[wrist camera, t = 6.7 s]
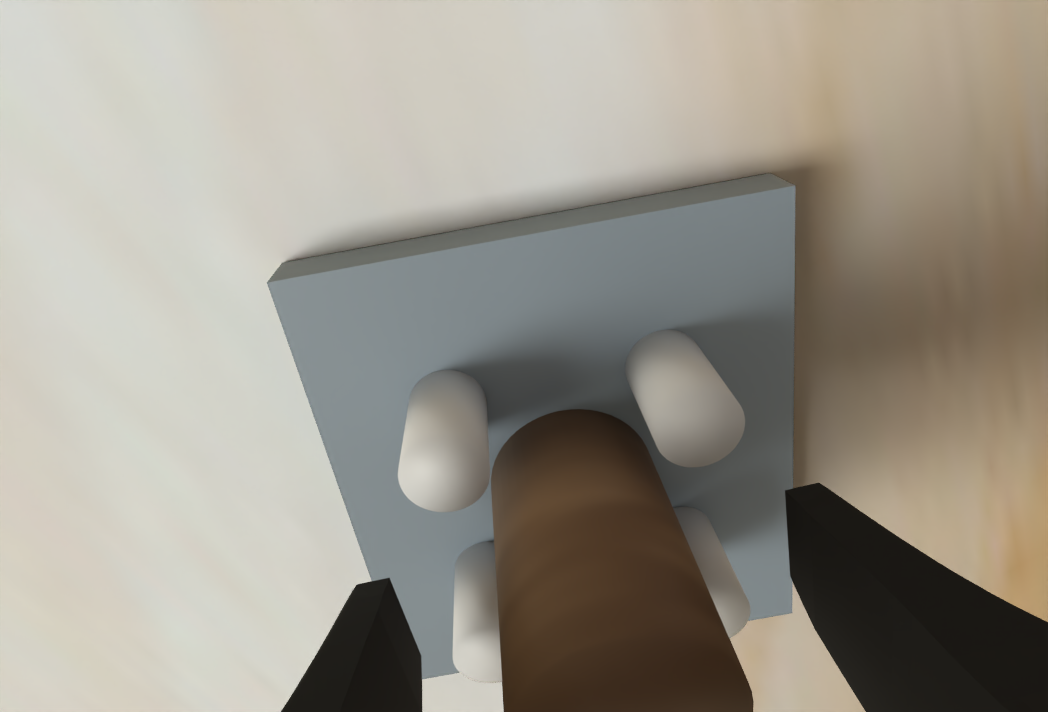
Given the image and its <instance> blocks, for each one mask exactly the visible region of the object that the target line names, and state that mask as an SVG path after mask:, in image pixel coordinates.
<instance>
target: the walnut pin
mask: <svg viewBox="0 0 1048 712" xmlns="http://www.w3.org/2000/svg"><path fill="white" fill-rule="evenodd" d="M491 495H492V512H493V530H494V547H495V565H496V582H497V600H498V617H499V635H500V652H501V670H502V687H503V705H504V712H753V697H752V691H751V689H750V686H749V683H748V681H747V678H746V676H745V674H744V671H743V669H742V667H741V664H740V662H739V660H738V658H737V655H736V653H735V651H734V648H733V646H732V644H731V641H730V639H729V637H728V634H727V632H726V630H725V627H724V625H723V623H722V620H721V618H720V616H719V613H718V611H717V609H716V607H715V604H714V602H713V600H712V597H711V595H710V593H709V590H708V588H707V586H706V583H705V581H704V579H703V576H702V574H701V572H700V569H699V567H698V565H697V563H696V560H695V558H694V556H693V553H692V551H691V549H690V546H689V544H688V542H687V539H686V537H685V535H684V532H683V530H682V528H681V525H680V523H679V521H678V518H677V516H676V514H675V512H674V509H673V507H672V505H671V502H670V500H669V498H668V495H667V493H666V491H665V488H664V486H663V484H662V481H661V479H660V477H659V474H658V472H657V470H656V467H655V465H654V463H653V461H652V458H651V456H650V454H649V451H648V449H647V447H646V445H645V443H644V442H643V440H642V438H641V437H640V436H639V435H638V433H637V432H636V431H635V430H634V429H632V428H631V427H630V426H629V425H628V424H626V423H625V422H623V421H622V420H620V419H618V418H616V417H614V416H612V415H609V414H606V413H603V412H599V411H594V410H585V409H570V410H563V411H557V412H553V413H550V414H546V415H544V416H541V417H539V418H537V419H535V420H533V421H531V422H529V423H527V424H526V425H524V426H523V427H521V428H520V429H519V430H517V431H516V432H515V433H514V434H513V435H512V436H511V437H510V438H509V439H508V440H507V441H506V443H505V444H504V445H503V447H502V448H501V450H500V451H499V453H498V455H497V457H496V459H495V462H494V465H493V469H492V474H491Z"/></svg>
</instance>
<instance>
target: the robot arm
mask: <svg viewBox="0 0 1048 712" xmlns="http://www.w3.org/2000/svg"><path fill="white" fill-rule="evenodd" d="M785 500H786V517H787V533H788V549H789V565H790V577H791V579H792V581H793V583H794V585H795V588H796V590H797V592H798V594H799V596H800V599H801V601H802V603H803V605H804V607H805V609H806V611H807V613H808V616H809V618H810V620H811V622H812V624H813V626H814V628H815V630H816V632H817V633H818V635H819V637H820V638H821V640H822V642H823V643H824V645H825V646H826V648H827V650H828V651H829V653H830V655H831V656H832V658H833V659H834V661H835V663H836V664H837V666H838V668H839V669H840V671H841V673H842V674H843V676H844V677H845V679H846V681H847V682H848V684H849V685H850V687H851V689H852V690H853V692H854V693H855V695H856V697H857V698H858V700H859V701H860V703H861V705H862V706H863V708H864V709H865V711H866V712H1048V622H1046V621H1044V620H1042V619H1040V618H1038V617H1036V616H1034V615H1032V614H1030V613H1028V612H1026V611H1024V610H1022V609H1020V608H1018V607H1016V606H1014V605H1012V604H1010V603H1008V602H1006V601H1004V600H1003V599H1001V598H999V597H997V596H995V595H993V594H991V593H990V592H988V591H986V590H984V589H983V588H981V587H979V586H977V585H976V584H974V583H972V582H970V581H969V580H967V579H965V578H963V577H962V576H960V575H958V574H956V573H955V572H953V571H951V570H950V569H948V568H946V567H945V566H943V565H942V564H940V563H938V562H937V561H935V560H933V559H932V558H930V557H929V556H927V555H926V554H924V553H923V552H921V551H919V550H918V549H916V548H915V547H913V546H912V545H910V544H908V543H907V542H905V541H904V540H902V539H901V538H899V537H898V536H896V535H895V534H893V533H892V532H890V531H889V530H887V529H886V528H884V527H883V526H881V525H880V524H878V523H877V522H875V521H874V520H872V519H871V518H870V517H868V516H867V515H865V514H864V513H862V512H861V511H859V510H858V509H857V508H855V507H854V506H852V505H851V504H849V503H848V502H846V501H845V500H844V499H842V498H841V497H839V496H838V495H836V494H835V493H834V492H832V491H831V490H829V489H828V488H826V487H825V486H823V485H822V484H820V483H816V484H811V485H807V486H802V487H798V488H793V489H789V490H785ZM281 712H422V661H421V654H420V651H419V649H418V646H417V644H416V641H415V639H414V637H413V634H412V632H411V629H410V627H409V624H408V622H407V619H406V617H405V615H404V612H403V610H402V607H401V605H400V602H399V600H398V597H397V595H396V592H395V590H394V588H393V585H392V583H391V580H390V578H385V579H380V580H376V581H371V582H367V583H362V584H358V585H356V587H355V588H354V590H353V591H352V593H351V595H350V596H349V598H348V600H347V602H346V603H345V605H344V607H343V609H342V610H341V612H340V614H339V616H338V617H337V619H336V621H335V623H334V625H333V626H332V628H331V630H330V632H329V633H328V635H327V637H326V639H325V640H324V642H323V644H322V646H321V647H320V649H319V651H318V653H317V654H316V656H315V658H314V659H313V661H312V663H311V664H310V666H309V668H308V669H307V671H306V672H305V674H304V676H303V677H302V679H301V681H300V682H299V684H298V686H297V687H296V689H295V691H294V692H293V694H292V695H291V697H290V699H289V700H288V702H287V703H286V705H285V706H284V708H283V709H282V711H281Z"/></svg>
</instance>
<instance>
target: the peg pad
mask: <svg viewBox="0 0 1048 712" xmlns="http://www.w3.org/2000/svg"><path fill="white" fill-rule="evenodd" d="M267 284H268V287H269V290H270V293H271V296H272V298H273V301H274V304H275V307H276V310H277V313H278V316H279V318H280V321H281V324H282V327H283V330H284V333H285V335H286V338H287V341H288V344H289V347H290V350H291V352H292V355H293V358H294V361H295V364H296V367H297V370H298V372H299V375H300V378H301V381H302V384H303V387H304V389H305V392H306V395H307V398H308V401H309V404H310V407H311V409H312V412H313V415H314V418H315V421H316V424H317V426H318V429H319V432H320V435H321V438H322V441H323V443H324V446H325V449H326V452H327V455H328V458H329V461H330V463H331V466H332V469H333V472H334V475H335V478H336V480H337V483H338V486H339V489H340V492H341V495H342V498H343V500H344V503H345V506H346V509H347V512H348V515H349V517H350V520H351V523H352V526H353V529H354V532H355V534H356V537H357V540H358V543H359V546H360V549H361V552H362V554H363V557H364V560H365V563H366V566H367V569H368V571H369V574H370V577H371V580H372V581H376V580H380V579H385V578H390V580H391V583H392V585H393V588H394V590H395V592H396V595H397V597H398V600H399V602H400V605H401V607H402V610H403V612H404V615H405V617H406V619H407V622H408V624H409V627H410V629H411V632H412V634H413V637H414V639H415V641H416V644H417V646H418V649H419V651H420V654H421V661H422V679H426V678H432V677H438V676H443V675H449V674H454V673H461V674H462V675H463V676H465V677H467V678H469V679H471V680H474V681H477V682H483V683H496V682H502V670H501V652H500V635H499V617H498V600H497V582H496V565H495V547H494V530H493V512H492V495H491V474H492V469H493V465H494V462H495V459H496V457H497V455H498V453H499V451H500V450H501V448H502V447H503V445H504V444H505V443H506V441H507V440H508V439H509V438H510V437H511V436H512V435H513V434H514V433H515V432H516V431H517V430H519V429H520V428H521V427H523V426H524V425H526V424H527V423H529V422H531V421H533V420H535V419H537V418H539V417H541V416H544V415H546V414H550V413H553V412H557V411H563V410H570V409H585V410H594V411H599V412H603V413H606V414H609V415H612V416H614V417H616V418H618V419H620V420H622V421H623V422H625V423H626V424H628V425H629V426H630V427H631V428H632V429H634V430H635V431H636V432H637V433H638V435H639V436H640V437H641V438H642V440H643V442H644V443H645V445H646V447H647V449H648V451H649V454H650V456H651V458H652V461H653V463H654V465H655V467H656V470H657V472H658V474H659V477H660V479H661V481H662V484H663V486H664V488H665V491H666V493H667V495H668V498H669V500H670V502H671V505H672V507H673V509H674V512H675V514H676V516H677V518H678V521H679V523H680V525H681V528H682V530H683V532H684V535H685V537H686V539H687V542H688V544H689V546H690V549H691V551H692V553H693V556H694V558H695V560H696V563H697V565H698V567H699V569H700V572H701V574H702V576H703V579H704V581H705V583H706V586H707V588H708V590H709V593H710V595H711V597H712V600H713V602H714V604H715V607H716V609H717V611H718V613H719V616H720V618H721V620H722V623H723V625H724V627H725V630H726V632H727V634H728V637H729V638H731V637H733V636H734V635H736V634H737V633H738V632H739V631H740V630H741V629H742V628H743V627H744V626H745V625H746V623H747V621H750V620H756V619H761V618H767V617H773V616H778V615H784V614H789V613H792V579H791V577H790V565H789V549H788V533H787V517H786V500H785V490H789V489H793V435H794V305H795V185H793V184H791V183H789V182H787V181H785V180H783V179H781V178H779V177H777V176H775V175H773V174H771V173H768V174H763V175H757V176H752V177H746V178H741V179H735V180H730V181H724V182H719V183H714V184H708V185H703V186H697V187H692V188H686V189H681V190H676V191H670V192H665V193H659V194H654V195H648V196H643V197H637V198H632V199H627V200H621V201H616V202H610V203H605V204H599V205H594V206H588V207H583V208H578V209H572V210H567V211H561V212H556V213H550V214H545V215H539V216H534V217H529V218H523V219H518V220H512V221H507V222H501V223H496V224H490V225H485V226H480V227H474V228H469V229H463V230H458V231H452V232H447V233H441V234H436V235H431V236H425V237H420V238H414V239H409V240H403V241H398V242H393V243H387V244H382V245H376V246H371V247H365V248H360V249H354V250H349V251H344V252H338V253H333V254H327V255H322V256H316V257H311V258H305V259H300V260H295V261H289V262H284V263H282V264H281V265H280V267H279V268H278V269H277V270H276V272H275V273H274V274H273V276H272V277H271V278H270V279H269V281H268V282H267Z"/></svg>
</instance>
